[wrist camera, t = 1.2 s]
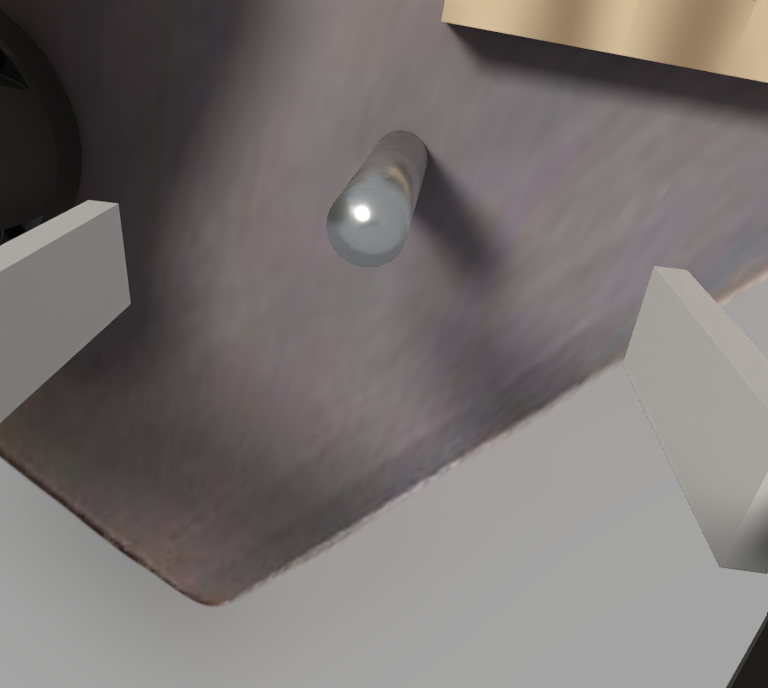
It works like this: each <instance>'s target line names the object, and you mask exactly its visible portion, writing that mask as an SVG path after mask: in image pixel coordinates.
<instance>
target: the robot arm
mask: <svg viewBox="0 0 768 688" xmlns="http://www.w3.org/2000/svg"><path fill="white" fill-rule="evenodd" d="M80 169H81V152H80V142H79V136H78V130H77V126H76V122H75V119H74V115H73V112H72V109H71V106H70V104H69V101H68V99H67V96H66V94H65V92H64V90H63V88H62V86H61V84H60V82H59V80H58V78H57V76H56V74H55V73H54V71H53V69H52V68H51V66H50V65H49V63H48V62H47V60H46V59H45V57H44V56H43V55H42V53H41V52H40V51H39V49H38V48H37V47H36V45H35V44H34V43H33V42H32V41H31V40H30V38H29V37H28V36H27V35H26V34H25V33H24V32H23V31H22V30H21V29H20V28H19V27H18V26H17V25H16V24H15V23H14V22H13V21H12V20H10V19H9V18H8V17H7V16H6V15H5V14H3V13H2V12H1V11H0V423H1V422H2V421H3V420H4V419H5V418H6V417H7V416H8V415H10V414H11V413H12V412H13V411H14V410H15V409H16V408H17V407H18V406H19V405H21V404H22V403H23V402H24V401H25V400H26V399H27V398H28V397H29V396H30V395H31V394H33V393H34V392H35V391H36V390H37V389H38V388H39V387H40V386H41V385H42V384H44V383H45V382H46V381H47V380H48V379H49V378H50V377H51V376H52V375H53V374H55V373H56V372H57V371H58V370H59V369H60V368H61V367H62V366H63V365H64V364H66V363H67V362H68V361H69V360H70V359H71V358H72V357H73V356H74V355H75V354H77V353H78V352H79V351H80V350H81V349H82V348H83V347H84V346H85V345H86V344H88V343H89V342H90V341H91V340H92V339H93V338H94V337H95V336H96V335H97V334H99V333H100V332H101V331H102V330H103V329H104V328H105V327H106V326H107V325H108V324H110V323H111V322H112V321H113V320H114V319H115V318H116V317H117V316H118V315H119V314H120V313H122V312H123V311H124V310H125V309H126V308H127V307H128V306H129V305H130V304H131V301H130V293H129V285H128V277H127V269H126V261H125V252H124V244H123V236H122V228H121V220H120V211H119V203H110V202H102V201H93V200H87V201H86V202H84V203H82V204H80V205H78V206H76V207H74V208H72V209H70V208H71V206H72V204H73V201H74V198H75V196H76V192H77V189H78V184H79V179H80ZM623 367H624V369H625V371H626V373H627V376H628V378H629V380H630V382H631V384H632V386H633V388H634V390H635V392H636V394H637V396H638V398H639V401H640V402H641V405H642V407H643V409H644V411H645V413H646V415H647V417H648V419H649V421H650V423H651V426H652V428H653V430H654V432H655V433H656V436H657V438H658V440H659V442H660V444H661V446H662V448H663V450H664V452H665V455H666V457H667V459H668V461H669V463H670V465H671V467H672V469H673V471H674V473H675V475H676V477H677V480H678V481H679V484H680V486H681V488H682V490H683V492H684V494H685V496H686V498H687V500H688V502H689V505H690V506H691V509H692V511H693V513H694V515H695V517H696V519H697V521H698V523H699V525H700V527H701V529H702V532H703V534H704V536H705V538H706V539H707V542H708V544H709V546H710V548H711V550H712V552H713V554H714V556H715V559H716V561H717V562H718V565H719V567H722V568H729V569H736V570H744V571H751V572H758V573H766V574H767V572H768V359H767V358H766V357H765V356H764V355H763V354H762V352H761V351H760V350H759V349H758V348H757V347H756V346H755V345H754V344H753V343H752V341H751V340H750V339H749V338H748V337H747V336H746V335H745V334H744V333H743V331H742V330H741V329H740V328H739V327H738V326H737V325H736V324H735V323H734V322H733V321H732V319H731V318H730V317H729V316H728V315H727V314H726V313H725V312H724V311H723V309H722V308H721V307H720V306H719V305H718V304H717V303H716V302H715V301H714V299H713V298H712V297H711V296H710V295H709V294H708V293H707V292H706V291H705V290H704V288H703V287H702V286H701V285H700V284H699V283H698V282H697V281H696V280H695V279H694V277H693V276H692V275H691V274H690V273H689V272H688V271H687V270H683V269H674V268H666V267H657V266H654V268H653V272H652V275H651V278H650V281H649V284H648V287H647V290H646V293H645V296H644V300H643V303H642V306H641V309H640V312H639V315H638V318H637V321H636V324H635V328H634V331H633V334H632V337H631V340H630V343H629V346H628V349H627V353H626V356H625V359H624V362H623ZM726 688H768V613H767V616H766V618H765V619H764V621H763V623H762V625H761V627H760V629H759V630H758V632H757V634H756V636H755V637H754V639H753V641H752V643H751V645H750V646H749V648H748V650H747V652H746V653H745V655H744V657H743V659H742V660H741V663H740V664H739V666H738V668H737V670H736V671H735V673H734V675H733V677H732V678H731V680H730V682H729V684H728V685H727V687H726Z"/></svg>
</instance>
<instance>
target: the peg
mask: <svg viewBox="0 0 768 688" xmlns="http://www.w3.org/2000/svg"><path fill="white" fill-rule="evenodd" d="M427 164H428V154H427V150H426V147H425V145H424V144H423V142H422V141H421V140H420V139H419V138H418V137H417V136H416V135H414V134H412V133H410V132H407V131H394V132H391V133H389V134H387V135H386V136H384V137H383V138H382V139H381V140H380V141H379V143H378V144H377V145H376V147H375V148H374V149H373V151H372V152H371V154H370V155H369V156H368V158H367V159H366V160H365V162H364V163H363V164H362V166H361V167H360V168H359V170H358V171H357V172H356V174H355V175H354V176H353V178H352V179H351V180H350V182H349V183H348V185H347V186H346V187H345V189H344V190H343V191H342V193H341V194H340V195H339V197H338V198H337V199H336V201H335V202H334V203H333V205H332V206H331V208H330V210H329V213H328V217H327V224H326V227H327V234H328V238H329V241H330V243H331V245H332V247H333V248H334V250H335V251H336V252H337V253H338V254H339V255H340V256H341V257H342V258H343V259H345V260H346V261H348V262H350V263H352V264H354V265H357V266H361V267H377V266H381V265H383V264H386V263H388V262H390V261H391V260H392V259H394V258H395V257H396V256H397V255H398V254H399V253H400V251H401V250H402V248H403V246H404V244H405V241H406V238H407V234H408V231H409V227H410V224H411V220H412V217H413V213H414V210H415V206H416V203H417V199H418V196H419V192H420V189H421V185H422V182H423V178H424V175H425V171H426V168H427Z"/></svg>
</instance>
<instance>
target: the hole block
mask: <svg viewBox="0 0 768 688" xmlns="http://www.w3.org/2000/svg"><path fill="white" fill-rule="evenodd" d="M441 21H442V22H447V23H453V24H458V25H463V26H469V27H474V28H479V29H485V30H490V31H495V32H500V33H506V34H511V35H516V36H522V37H527V38H532V39H538V40H543V41H548V42H554V43H559V44H564V45H570V46H575V47H580V48H586V49H591V50H596V51H602V52H607V53H612V54H618V55H623V56H628V57H633V58H639V59H644V60H649V61H655V62H660V63H665V64H671V65H676V66H681V67H687V68H692V69H697V70H703V71H708V72H713V73H719V74H724V75H729V76H735V77H740V78H745V79H751V80H756V81H761V82H766V83H768V0H445V4H444V9H443V14H442V20H441Z"/></svg>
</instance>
